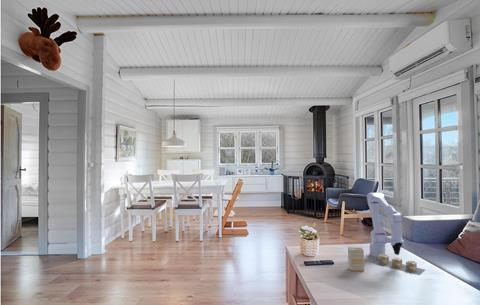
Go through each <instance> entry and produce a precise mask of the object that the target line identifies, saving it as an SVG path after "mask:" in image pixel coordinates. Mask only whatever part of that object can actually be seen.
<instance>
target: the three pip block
mask: <svg viewBox="0 0 480 305" xmlns="http://www.w3.org/2000/svg"><path fill="white" fill-rule="evenodd" d="M405 265H406V270H410V271H416V270H417V268H418V266H417V261H413V260H409V259H408V260H407V261H406V262H405Z"/></svg>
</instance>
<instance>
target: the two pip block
mask: <svg viewBox="0 0 480 305" xmlns="http://www.w3.org/2000/svg"><path fill="white" fill-rule="evenodd" d="M378 258H379V263H382V264H388V263H389V261H390V259H389V258H390V256H389V255H386V254H385V255H383V254H381V255H379V257H378Z"/></svg>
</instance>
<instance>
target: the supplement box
mask: <svg viewBox="0 0 480 305" xmlns="http://www.w3.org/2000/svg"><path fill="white" fill-rule="evenodd" d="M364 252H365V250H364V249H363V248H362V247H351V246H350V247H347V257H348V264H347V265H348V270H349V271H350V272H365V256H364Z"/></svg>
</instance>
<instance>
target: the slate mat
mask: <svg viewBox="0 0 480 305" xmlns="http://www.w3.org/2000/svg"><path fill="white" fill-rule="evenodd" d="M370 264H375V265H379V266H381V267H385V268H389V269H392V270H398V271H401V272H406V273H408V274H413V275H417V276H421V274H423V273H424V272H425V271H426V269H425V268H421V267H417V270H416V271H410V270H406V264H404V263H402V267H400V268H398V267H394V266H392V260H389V263H388V264H382V263H379V257H377V258H376V259H374V260H372V261H371V262H370Z"/></svg>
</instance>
